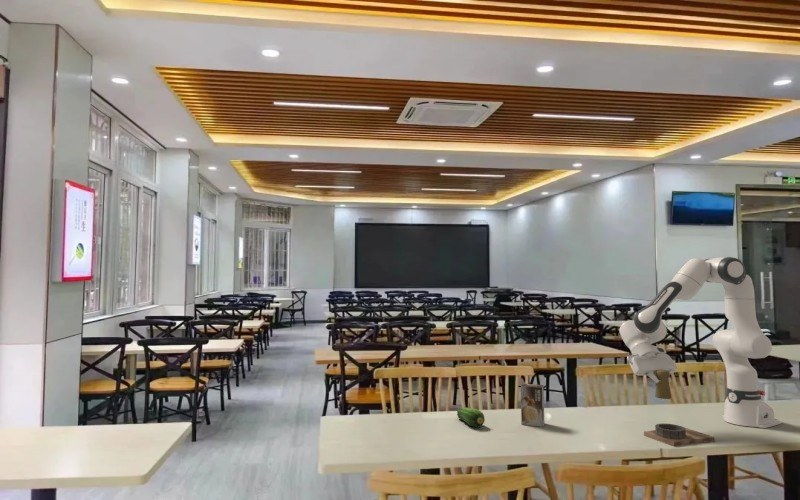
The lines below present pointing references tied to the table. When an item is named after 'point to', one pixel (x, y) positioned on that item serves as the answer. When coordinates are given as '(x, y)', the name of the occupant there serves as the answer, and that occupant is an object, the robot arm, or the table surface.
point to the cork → (663, 385)
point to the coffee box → (532, 405)
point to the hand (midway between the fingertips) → (664, 382)
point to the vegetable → (471, 416)
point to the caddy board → (687, 440)
